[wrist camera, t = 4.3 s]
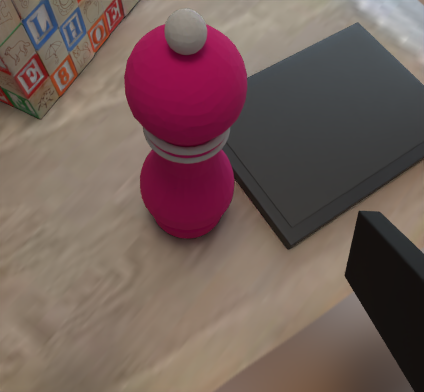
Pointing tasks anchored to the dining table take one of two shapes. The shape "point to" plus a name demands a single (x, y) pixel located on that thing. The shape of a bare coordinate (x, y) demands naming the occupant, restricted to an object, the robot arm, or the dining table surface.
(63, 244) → the dining table surface
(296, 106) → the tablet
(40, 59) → the stack of blocks
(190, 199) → the pepper mill
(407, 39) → the dining table surface
